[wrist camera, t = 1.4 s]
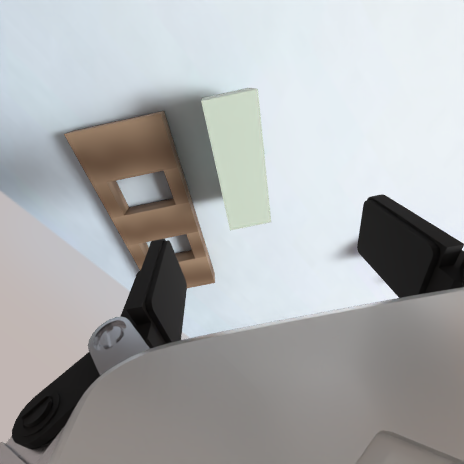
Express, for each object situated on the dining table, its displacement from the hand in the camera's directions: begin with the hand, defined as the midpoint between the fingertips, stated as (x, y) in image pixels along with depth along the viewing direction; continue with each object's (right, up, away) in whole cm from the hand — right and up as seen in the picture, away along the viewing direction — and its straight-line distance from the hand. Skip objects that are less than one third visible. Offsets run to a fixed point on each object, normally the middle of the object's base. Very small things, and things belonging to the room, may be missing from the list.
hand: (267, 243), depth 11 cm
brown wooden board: (-11, +2, +17) cm, 21 cm away
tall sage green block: (-2, +9, +14) cm, 17 cm away
